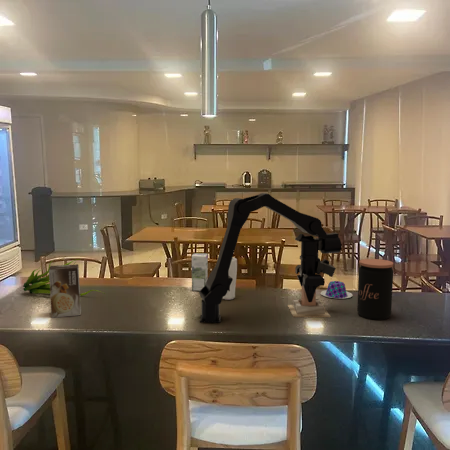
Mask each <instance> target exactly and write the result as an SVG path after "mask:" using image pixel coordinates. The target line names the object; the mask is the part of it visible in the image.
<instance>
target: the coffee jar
mask: <svg viewBox="0 0 450 450" xmlns="http://www.w3.org/2000/svg"><path fill="white" fill-rule="evenodd" d="M358 263H359V266H360V267H358V277H357V278H358V279H357V281H358V282H357V283H358V284H357V305H356V307H357V309H356V310H357V312H358V315H359V316H360V317H362V318H364V319H368V320H374V321H384V320H387V319H389V318H390V317H391V315H392V308H393V307H392V304H393V302H392V301H393V285H394V283H393V282H394V270H393V267H394V262H393V261H391V260H386V259H379V258H364V259H360V260H359V261H358Z"/></svg>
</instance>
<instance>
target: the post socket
mask: <svg viewBox="0 0 450 450" xmlns="http://www.w3.org/2000/svg"><path fill="white" fill-rule="evenodd" d="M287 307H289V308H288V309H290V310H289V311H290V313H291V315H292V317H293V318H331V314H329V312H328V311H327V310H326V307H325V305H324V304H323V302H321V300H320V299H319V298H317V299H316V305H315V306H301V298H293V299H292V304H287Z"/></svg>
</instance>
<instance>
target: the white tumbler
mask: <svg viewBox="0 0 450 450" xmlns="http://www.w3.org/2000/svg"><path fill="white" fill-rule="evenodd" d="M237 272H238V259H237V258H236V257H232V261H231V264H230V268H229V276H230V277H231V278H232V279H233V280H232V283H231V285H230V291H227V294H226V295H225V296H223V298H222V300H226V301H227V300H229V301H231V300H234V299H235V298H236V285H237Z"/></svg>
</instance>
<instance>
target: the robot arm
mask: <svg viewBox="0 0 450 450" xmlns="http://www.w3.org/2000/svg"><path fill="white" fill-rule="evenodd" d="M227 207H228V208H227V227H226V229H225V232H224V235H223V239H222V243H221V246H220V250H219V254H218V257H217V261H216V263H215V266H214V267H213V269H212V270H211V272H210V273H209V276H208V279H207V282H206V285H205V286H204V287H203V288H202V289H201V290H200V291H198V294H199V295H200V298H201V314H200V318H199V322H200V323H221V322H222V317H221V314H220V305H221V303H222V302H223V299H222V298H223V296H225V295H226V294H227V291H230V285H231V283H232V280H233V279H232V278H231V277H230V276H229V268H230V264H231V261H232V258H234V257H233V256H234V253H235V250H236V247H237V243H238V240H239V237H240V233H241V230H242V227H244V224H245V223H246V222H247V220H248V218H249V217H250V215H251V213H253V212H255V211H257V210H260V209H262V208H266V209H268V210H270V211H272V212H274V213H276V214H277V215H278V216H281V217H283V218H284V219H286V220H288V221H290V223H292V224H293V225H294V226H295V227H296V228H297V229H298V230H300V231H301V232H303V233H305V234H309V235H304V234H303V233H299V234H298V235H297V236H296V237H295V238H294V239H295V240H294V241H297V242H300V243H301V244H300V255H299V259H300V264H297V265H296V266H295V267H294V268H295V270H294V271H295V274H296V277H297V279H298V282H299V285H300V287H301V288H302V286H303V287H304V290H305V293H306V296H307V299H308V302H312V300H313V297H314V294H315V291H316V292H317V288H319V287H320V286H325V278H324V277H323V276H322V275H321V273H322V274H325V275H328V276H329V277H331V278H333V275H334V273H335V271H336V269H337V267H335V266H334V265H332V264H330V260H328V259H326V258H324V259H323V260H321V258H320V257H319V252H320V253H321V254H322V255H323V254H339V253H341V250H342V247H343V245H342V241H341V238H340V237H339V233H337V232H329V233H327V232H326V231H325V229H324V228H323V224H322V221H321V219H319V218H318V217H315V216H311V215H309V214H306V213H303V212H299V211H298V210H296V209H294V208H292V207H291V206H289V205H288V204H286V203H284V202H282V201H280V200H279V199H277V198H275V197H274V196H272V195H271V194H270V193H266V192H261V193H258V194H255V195H252V196H248V197H244V198H241V197H236V198H233V199H231V200H230V201H229V203H228V206H227Z"/></svg>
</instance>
